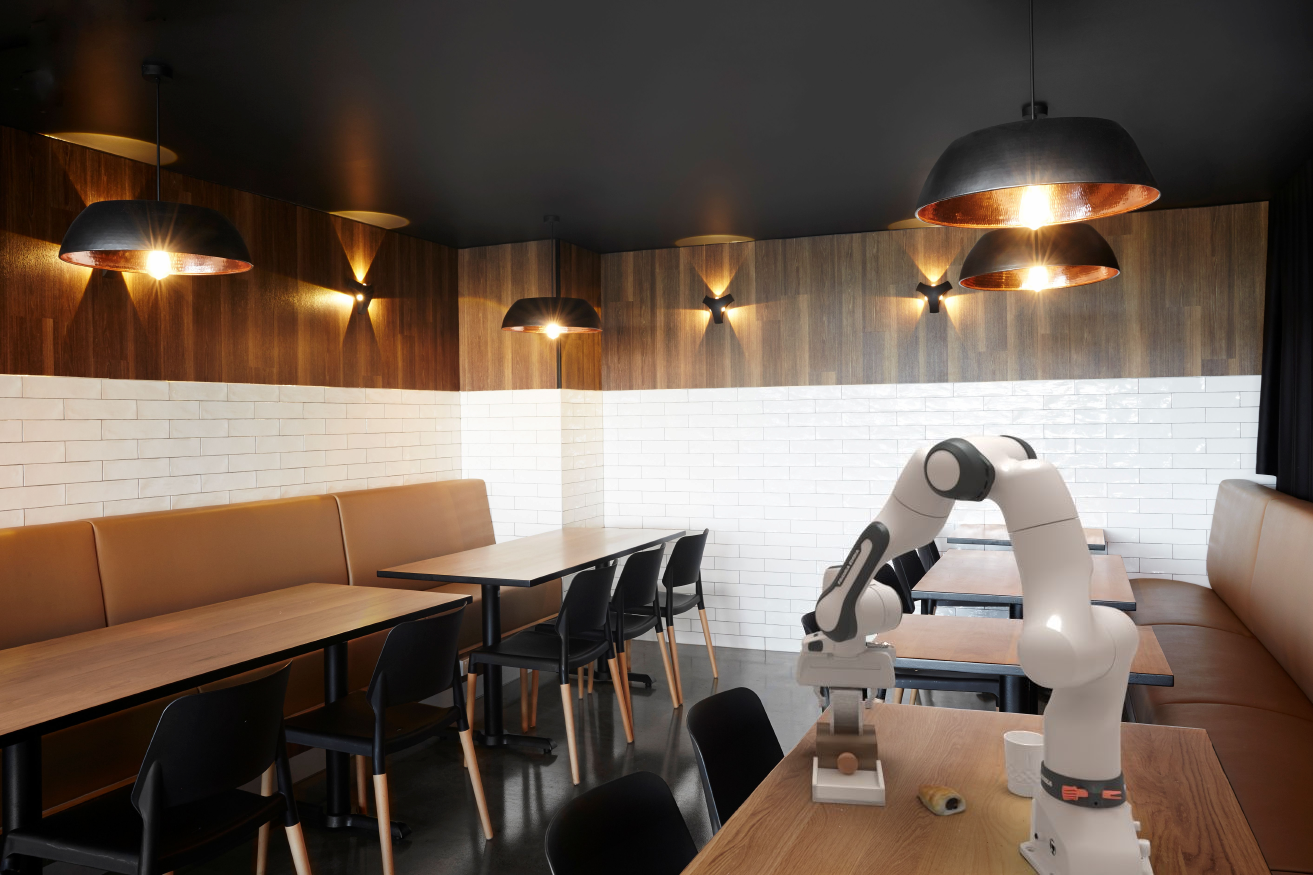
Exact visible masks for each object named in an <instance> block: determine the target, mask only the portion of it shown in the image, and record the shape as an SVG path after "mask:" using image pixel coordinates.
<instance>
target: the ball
mask: <svg viewBox="0 0 1313 875" xmlns="http://www.w3.org/2000/svg"><path fill="white" fill-rule="evenodd" d="M837 765H838V768H839V769H840V771H841V772H843V773H845V774H852V773H854V772H855V771H856V769H857V767H858V761H857V759H856V757H855V756H854V755H853V754H851V753H847V752H846V753H842V754H841V755H840V756H839V757H838V760H837Z"/></svg>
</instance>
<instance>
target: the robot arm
mask: <svg viewBox="0 0 1313 875" xmlns="http://www.w3.org/2000/svg"><path fill="white" fill-rule="evenodd" d="M984 500H990V501H992V502H994V503H995V504H996V505H997V506H998V507H999V509H1000V511H1001V513H1002V517H1003V518H1004V522H1005V526H1006V531H1007V534H1008V537H1009V540H1010V544H1011V548H1012V551H1013V554H1014V559H1015V562H1016V566H1017V570H1018V573H1019V577H1020V583H1021V592H1022V616H1023V617H1022V628H1021V634H1020V636H1019V638H1018V641H1017V645H1016V656H1017V657H1016V658H1017V661H1018V664H1019V666H1020V668H1021V670H1022V671H1023V673H1024V674H1025V675H1026V677H1027V678H1028V679H1030V680H1031V681H1032V682H1033V683H1035V684H1037V685H1038V686H1041V687H1044V688H1046V689H1047V688H1048V689H1052V692H1051V695H1050V698H1049V700H1048V703H1047V705H1046V706H1045V709H1044V712H1043V715H1042V732H1043V733H1042V735H1043V749H1044V760H1043V761H1042V762H1041V769H1040V776H1041V785H1042V789H1041V791H1040V792H1039V793H1038V795H1037V796H1035V797H1034V798H1032V799H1031V806H1030V829H1029V830H1030V832H1029V835H1030V836H1029V840H1027V841H1024V842H1021V843H1020V845H1019V852H1020V854H1022V856H1023V857H1024V858H1025V859H1026V860H1027V861H1028V862H1029V863H1028V864H1030V865H1031V866H1032V868H1033V869H1034V870H1035V871H1036V872H1037V873H1038V874H1039V875H1155V874H1154V871H1153V868H1152V866H1151V862H1150V858H1149V857H1151V842H1150V840H1148V839H1145V838H1138V836H1137V832H1140V831H1141V822H1140V820H1139V821H1138V820H1134V818H1133V815H1132V804H1130V803H1129V801H1127V798H1128V797H1127V791H1126V789H1127V785H1126V780H1125V777H1124V776H1125V775H1124V772H1123V770H1122V768H1121V762H1122V760H1121V755H1122V754H1121V726H1122V724H1121V723H1122V717H1123V716H1122V714H1123V709H1124V702H1125V699H1126V693H1127V689H1128V683H1129V679H1130V673H1131V672H1130V671H1131V668H1132V663H1133V660H1134V658H1135V656H1136V654H1137V651H1138V650H1139V646H1140V635H1139V631H1138V628H1137V626H1136V624H1135V622H1134V621H1133V620H1132V618H1131V617H1130V616H1129V615H1127V614H1126V613H1125V612H1124V611H1122V610H1120V609H1117V608H1116V607H1111V606H1105V605H1096V604H1092V598H1091V579H1092V576H1093V572H1094V560H1093V558H1092V554H1091V551H1090V548H1089V545H1088V542H1087V538H1086V536H1085V532H1084V529H1083V526H1082V523H1081V519H1080V516H1079V513H1078V511H1077V507H1076V505H1075V502H1074V500H1073V497H1072V494H1071V492H1070V490H1069V488H1068V486H1067V484H1066V483H1065V480H1064V479H1063V477H1062V474H1061V473H1060V471H1059V470H1058V468H1057V467H1056V466H1055V465H1054V464H1053V463H1052V462H1049V461H1047V460H1045V459H1039V458H1038V456H1037V454H1036V452H1035V450H1034V448H1033V447H1032V445H1030V444H1029V443H1028V442H1027V441H1026V440H1024V439H1022V438H1019V437H1016V436H1014V435H1013V436H1012V435H1007V434H999V435H986V434H985V435H984V434H971V435H967V436H962V437H951V438H947V439H944V440H942V441H940V442H938V443H936V444H926V445H923V446H921V447H919V448H917V449H916V451H915V452H913V454H912V455H911V457H910V458H909V459H908V461H907V463H906V464H905V466H904V468H903V469H902V471H901V473H900V475H899V477H898V478H897V481H896V483H895V485H894V487H893V489H892V492H891V494H890V496H889V498H888V500H887V501H886V503H885V504H884V505H883V508H882V509H881V510H880V511H879V513H878V514H877V515H876V516H875V518H874V519H873V520H872V522H870V523H869V524H868V525H867V526H866V528H864V530H863V531H862V532H861V534H860V535H859V537H858V538H857V539H856V541H855V543H854V544H853V546H852V547H851V549H850V551H849V554H848V555H847V557H846V559H845V560H844V562H843V564H838V565H831V566H829V567H827V568H826V569H825V571H824V574H823V578H822V586H821V587H822V588H821V594H820V596H819V597H818V598H817V602H816V604H815V608H814V619H815V623H816V625H817V627H818V628H819V629H818V630H820V631H816V632H813V633H810V634H806V635H804V636H803V638H802V639H801V650H800V651H799V654H798V658H797V662H796V663H797V664H796V674H795V682H796V683H797V684H798V686H800V687H804V686H805V687H812V688H813V689H812V690H813V693H814V695H815V697H816V698H817V699H818V708H827V700H826V699H827V697H826V696H822V694H821V693H820V692H821V687H824V688H825V687H826V688H827V687H828V688H829V687H853V688H862V689H870V693H871V695H870V696H869V698H865V699H864V702H865V703H864V710H873V708H874V706H873V702H874V701H875V699H876V697H878V696H877V695H879V689H882V690H883V689H885V690H887V689H888V690H889V689H891V690H892V689H893V688H894V687H895V686H896V674H895V669H894V664H895V663H896V661H897V649H896V648H895V647H894V645H892V644H889V642H886V641H885V642H876V641H867V637H868V636H873V635H876V634H882V633H887V632H890V631H894V630H896V629H897V628H898V627H899V625H900V624H901V621H902V619H903V614H904V609H903V603H902V602H903V601H902V599H901V597H900V595H899V593H898V592H897V591H896V590H895V589H894V588H893V587H892V586H890V585H886V584H883V583H881V582H879V581H877V580H875V579H874V577H875V576H876V574H877V573H878V572H879V570H880V569H881V568H882V567H883V566H884V565H885V564H887V563H888V562H890V561H892V560H894V559H895V558H897V557H899V556H902V555H904V554H906V553H909V552H911V551H914V550H917V549H920V548H922V547H925V546H927V545H928V544H931V543H933V541H934V540H935V539H936V538H937V536H938V535H939V534H940V533H941V531H942V530H943V529H944V527H945V525H946V523H947V521H948V519H949V516H950V515H951V512H952V510H953V508H954V505H955V503H956V501H961V502H978V503H981V502H983V501H984Z"/></svg>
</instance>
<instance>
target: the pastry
mask: <svg viewBox="0 0 1313 875" xmlns="http://www.w3.org/2000/svg"><path fill="white" fill-rule="evenodd" d="M917 794H918V796H919V798H920V800H921V802H922V805H923V806H925V807H926V808H927V809H928V810H929V811H931V812H932V813H933V814H936V815H937V816H949V815H954V814H958V813H961V812H963V811H965V809H966V807H967V802H966V799H965V797H964V796H963V795H962V794H961V793H958V792H957V791H956V790H955V789H953V788H952V787H949V786H945V785H942V784H938V785H937V784H923V785H920V787H918V790H917Z"/></svg>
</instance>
